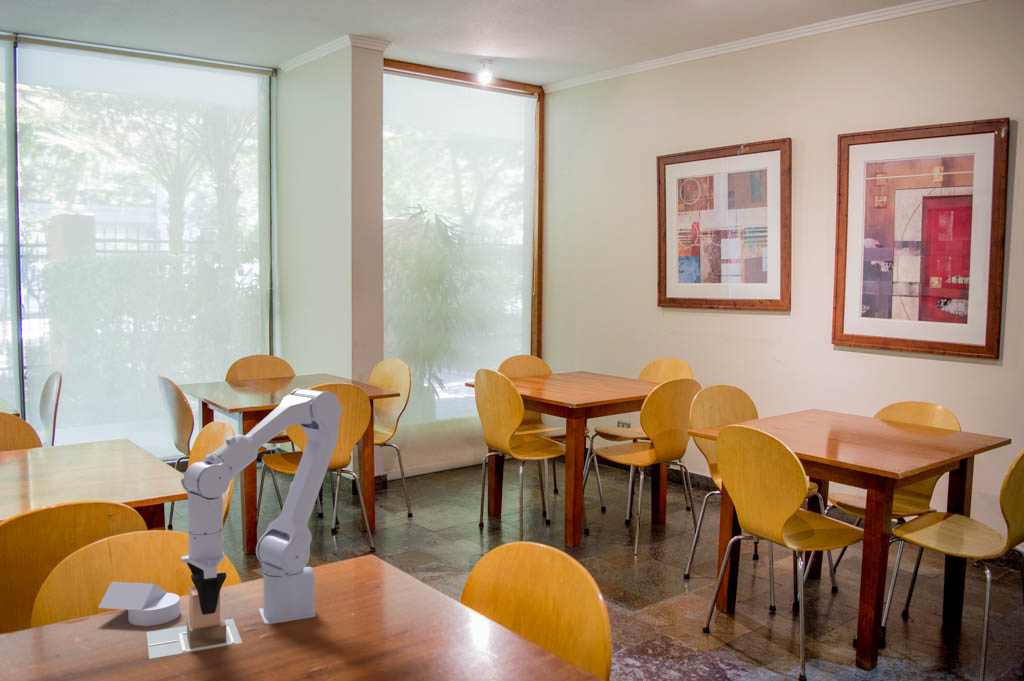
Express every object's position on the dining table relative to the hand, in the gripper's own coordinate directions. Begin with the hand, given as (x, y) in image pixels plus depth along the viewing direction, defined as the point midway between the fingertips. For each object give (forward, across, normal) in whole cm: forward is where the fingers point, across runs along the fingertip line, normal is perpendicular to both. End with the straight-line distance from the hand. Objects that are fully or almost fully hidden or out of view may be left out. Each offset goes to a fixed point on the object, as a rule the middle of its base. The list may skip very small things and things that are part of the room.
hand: (206, 605), depth 144 cm
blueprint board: (+6, -2, -2) cm, 7 cm away
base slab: (+6, 0, 0) cm, 6 cm away
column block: (+3, 0, 0) cm, 3 cm away
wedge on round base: (+7, -16, -10) cm, 20 cm away
